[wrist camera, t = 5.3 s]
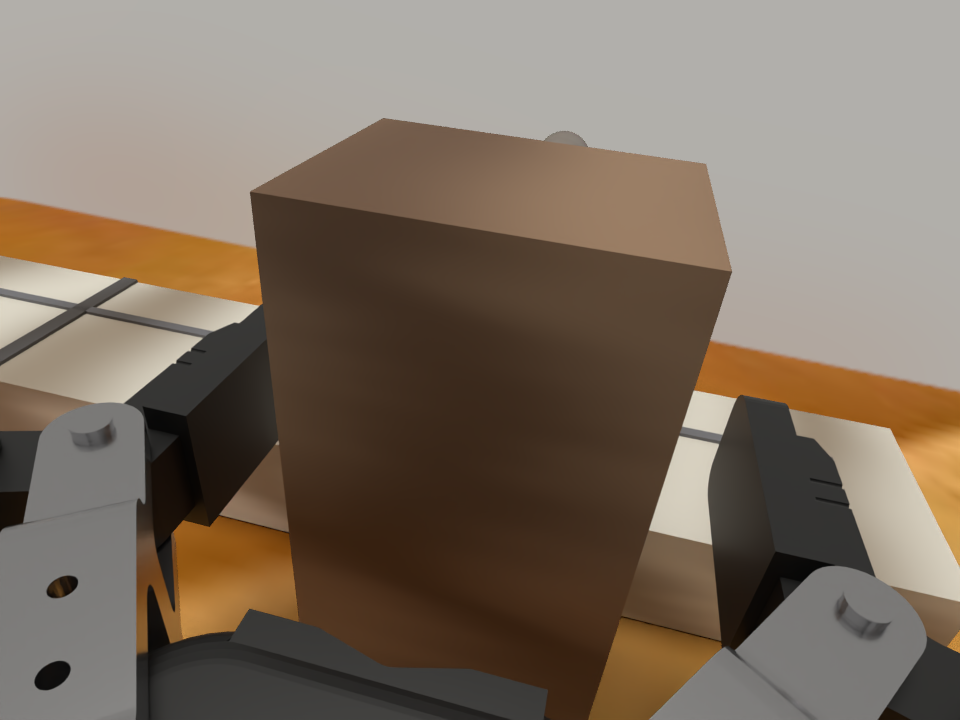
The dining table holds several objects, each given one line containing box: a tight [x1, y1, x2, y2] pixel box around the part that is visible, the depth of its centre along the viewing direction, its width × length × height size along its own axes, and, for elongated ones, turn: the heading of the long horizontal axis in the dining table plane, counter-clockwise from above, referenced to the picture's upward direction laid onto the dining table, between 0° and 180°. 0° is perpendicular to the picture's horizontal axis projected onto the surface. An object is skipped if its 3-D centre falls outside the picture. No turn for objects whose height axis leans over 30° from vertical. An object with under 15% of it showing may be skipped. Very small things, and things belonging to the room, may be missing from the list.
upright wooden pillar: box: [250, 118, 732, 720], centre depth 13 cm, size 5×9×11 cm, turn 167°
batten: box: [0, 256, 960, 647], centre depth 19 cm, size 30×6×3 cm, turn 77°
